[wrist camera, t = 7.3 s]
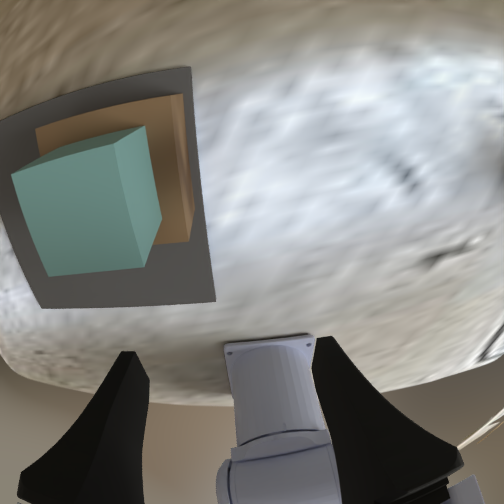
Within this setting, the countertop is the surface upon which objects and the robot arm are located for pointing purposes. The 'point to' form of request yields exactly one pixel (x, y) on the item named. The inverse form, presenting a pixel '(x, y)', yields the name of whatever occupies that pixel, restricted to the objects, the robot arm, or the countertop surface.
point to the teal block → (92, 204)
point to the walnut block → (160, 148)
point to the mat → (161, 255)
